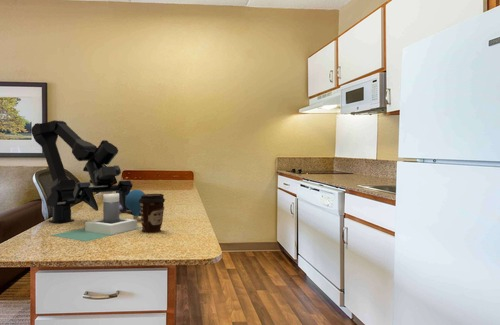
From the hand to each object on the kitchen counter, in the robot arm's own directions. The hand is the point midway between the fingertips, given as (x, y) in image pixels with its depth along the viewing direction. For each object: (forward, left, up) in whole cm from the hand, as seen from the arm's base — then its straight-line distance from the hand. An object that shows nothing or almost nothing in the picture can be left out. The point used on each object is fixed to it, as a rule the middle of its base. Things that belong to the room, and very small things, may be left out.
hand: (111, 208), depth 133 cm
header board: (-2, -4, -8) cm, 9 cm away
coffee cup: (+12, +6, -8) cm, 16 cm away
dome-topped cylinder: (0, 0, -7) cm, 7 cm away
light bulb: (-9, +21, -8) cm, 24 cm away
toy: (-22, +33, -8) cm, 40 cm away
